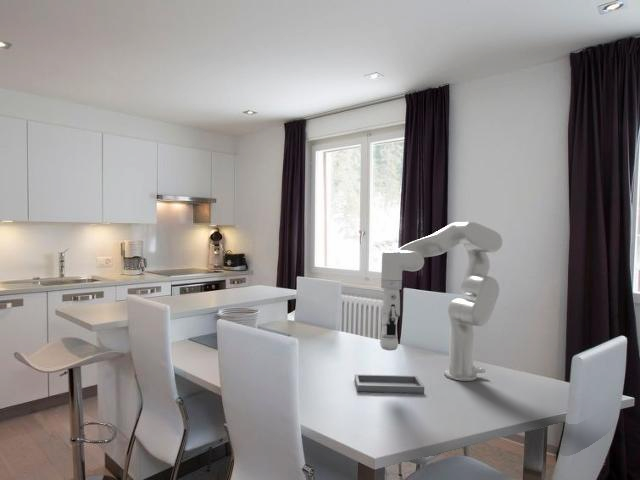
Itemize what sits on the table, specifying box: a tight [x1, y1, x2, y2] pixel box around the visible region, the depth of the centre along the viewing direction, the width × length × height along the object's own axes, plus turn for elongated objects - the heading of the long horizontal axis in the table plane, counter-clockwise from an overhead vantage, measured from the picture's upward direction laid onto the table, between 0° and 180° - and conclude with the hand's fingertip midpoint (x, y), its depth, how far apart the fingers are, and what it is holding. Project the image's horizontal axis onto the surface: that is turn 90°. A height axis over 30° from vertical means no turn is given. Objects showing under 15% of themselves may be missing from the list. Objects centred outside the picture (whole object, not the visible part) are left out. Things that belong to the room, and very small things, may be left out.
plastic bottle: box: [379, 296, 399, 351], centre depth 163 cm, size 6×7×20 cm
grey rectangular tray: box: [354, 373, 425, 395], centre depth 164 cm, size 24×12×3 cm, turn 91°
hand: (389, 332), depth 163 cm, fingers closed on plastic bottle, 5 cm apart
